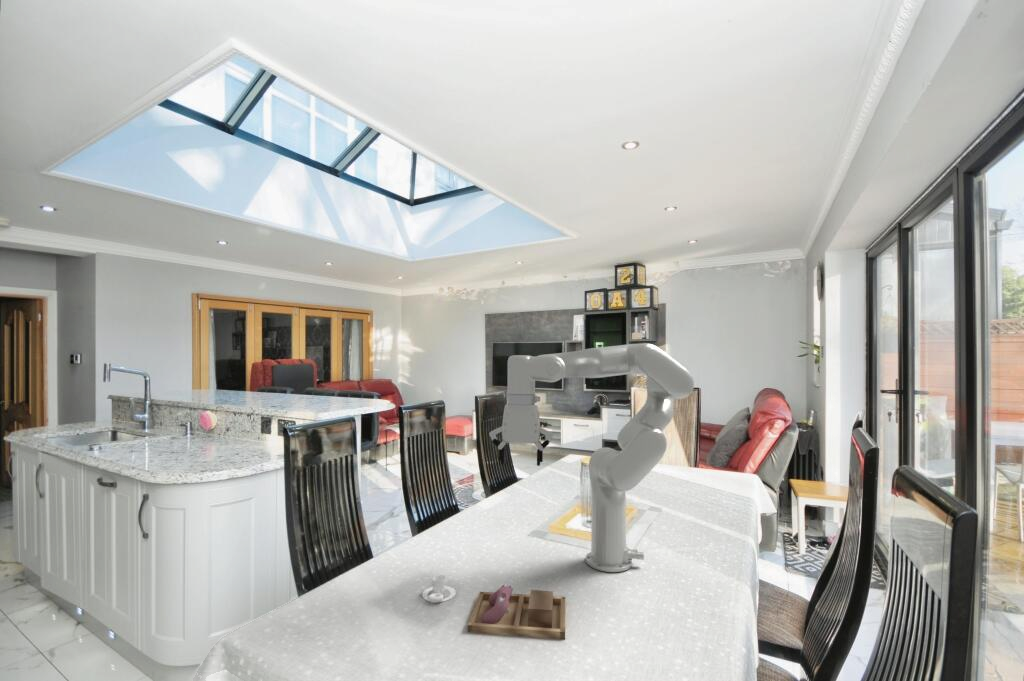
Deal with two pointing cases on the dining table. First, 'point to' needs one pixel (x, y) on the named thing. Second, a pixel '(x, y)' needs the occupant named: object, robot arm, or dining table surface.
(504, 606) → the video game controller
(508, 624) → the oak organiser tray
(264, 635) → the dining table surface
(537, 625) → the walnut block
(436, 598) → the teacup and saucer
